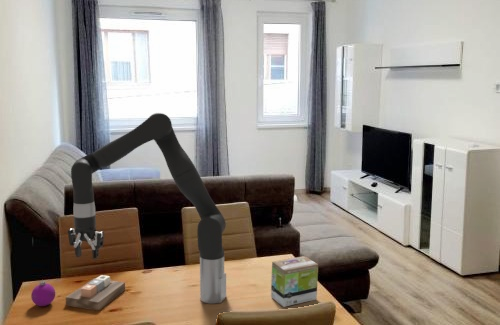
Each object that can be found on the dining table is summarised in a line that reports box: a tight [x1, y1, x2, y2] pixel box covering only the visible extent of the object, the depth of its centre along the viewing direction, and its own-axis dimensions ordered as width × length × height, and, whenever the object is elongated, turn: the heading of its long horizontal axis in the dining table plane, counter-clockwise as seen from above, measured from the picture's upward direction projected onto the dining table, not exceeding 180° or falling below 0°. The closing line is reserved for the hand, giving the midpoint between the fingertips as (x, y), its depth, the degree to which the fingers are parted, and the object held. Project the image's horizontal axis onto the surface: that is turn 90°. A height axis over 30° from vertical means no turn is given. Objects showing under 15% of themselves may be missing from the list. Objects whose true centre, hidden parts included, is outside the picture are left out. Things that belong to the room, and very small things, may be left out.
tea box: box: [270, 255, 319, 308], centre depth 179 cm, size 15×10×15 cm
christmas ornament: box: [30, 279, 56, 307], centre depth 174 cm, size 8×8×10 cm
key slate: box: [87, 278, 104, 293], centre depth 180 cm, size 4×4×3 cm
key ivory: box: [95, 274, 111, 288], centre depth 185 cm, size 4×4×3 cm
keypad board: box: [65, 277, 126, 311], centre depth 181 cm, size 14×18×3 cm
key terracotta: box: [81, 284, 97, 298], centre depth 176 cm, size 4×4×3 cm
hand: (87, 257), depth 174 cm, fingers open, 6 cm apart
